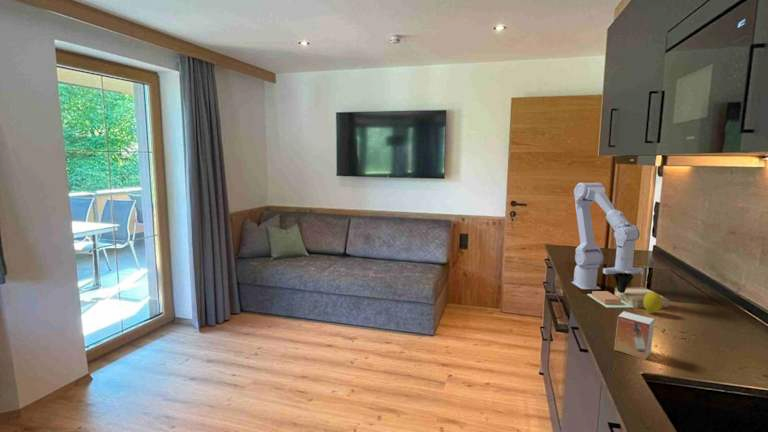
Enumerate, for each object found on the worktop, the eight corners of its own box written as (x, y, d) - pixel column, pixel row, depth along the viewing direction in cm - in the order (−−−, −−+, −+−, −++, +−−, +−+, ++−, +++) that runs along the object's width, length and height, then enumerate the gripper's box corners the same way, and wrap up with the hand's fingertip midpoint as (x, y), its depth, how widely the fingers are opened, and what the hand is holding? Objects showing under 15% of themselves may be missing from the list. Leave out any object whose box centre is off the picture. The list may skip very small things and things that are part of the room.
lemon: (657, 317, 141) (660, 295, 140) (639, 312, 145) (642, 291, 144) (663, 313, 144) (665, 292, 143) (645, 309, 148) (647, 288, 147)
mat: (587, 294, 163) (587, 293, 163) (611, 294, 163) (611, 293, 163) (607, 308, 149) (607, 307, 149) (634, 307, 149) (634, 306, 149)
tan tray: (614, 294, 163) (615, 287, 163) (643, 294, 164) (644, 287, 163) (636, 307, 150) (637, 300, 149) (668, 307, 150) (669, 300, 149)
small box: (613, 350, 117) (617, 315, 115) (619, 344, 121) (623, 310, 119) (645, 360, 111) (650, 324, 110) (651, 353, 115) (655, 318, 114)
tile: (607, 291, 160) (606, 296, 161) (592, 291, 160) (591, 296, 161) (621, 299, 152) (620, 304, 152) (605, 299, 151) (604, 304, 152)
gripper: (611, 260, 150) (608, 295, 152) (650, 260, 150) (646, 295, 152) (601, 255, 157) (598, 289, 159) (638, 255, 157) (634, 289, 159)
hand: (621, 292), depth 156 cm, fingers closed
